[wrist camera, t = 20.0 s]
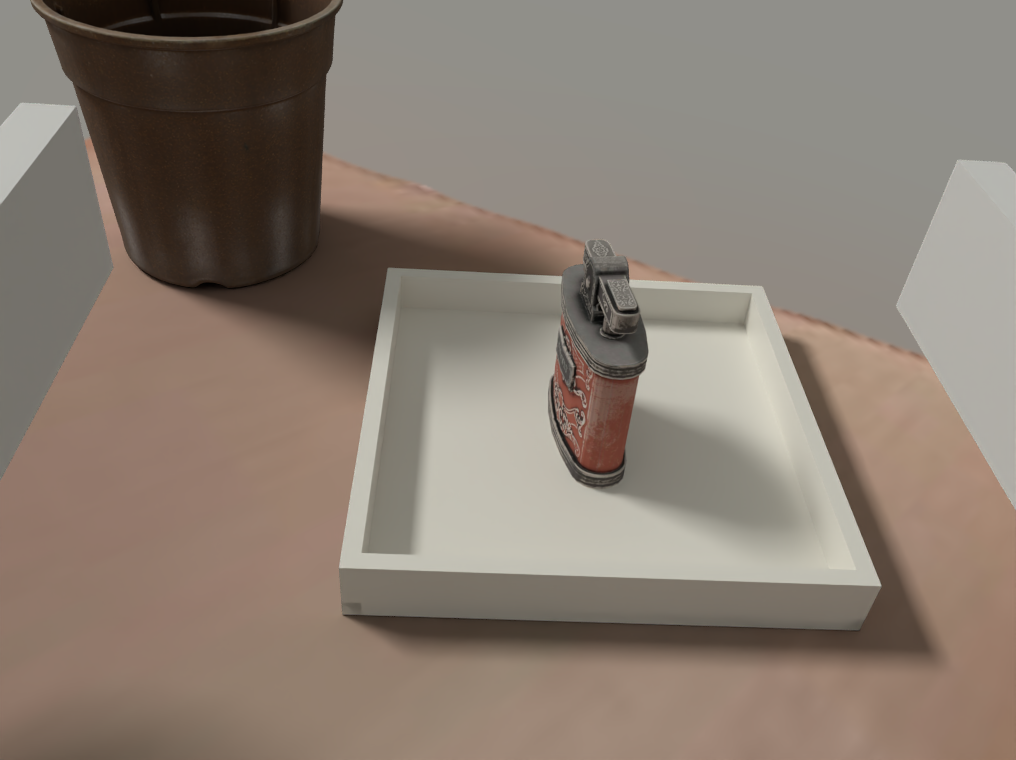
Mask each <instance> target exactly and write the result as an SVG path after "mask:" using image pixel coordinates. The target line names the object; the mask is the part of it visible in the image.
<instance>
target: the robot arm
mask: <svg viewBox="0 0 1016 760" xmlns="http://www.w3.org/2000/svg"><path fill="white" fill-rule="evenodd" d="M112 269H113V263H112V259H111V255H110V250H109V246H108V242H107V237H106V233H105V229H104V224H103V220H102V216H101V211H100V207H99V202H98V198H97V194H96V189H95V185H94V181H93V176H92V172H91V168H90V163H89V159H88V155H87V150H86V146H85V142H84V137H83V134H82V129H81V124H80V120H79V116H78V111H77V107H76V106H68V105H52V104H35V103H20V105H19V106H18V107H17V108H16V109H15V110H14V111H13V112H12V113H11V115H10V116H9V117H8V118H7V119H6V120H5V121H4V123H3V124H2V125H1V126H0V480H1V478H2V476H3V474H4V473H5V471H6V469H7V467H8V465H9V463H10V461H11V459H12V458H13V456H14V454H15V452H16V450H17V448H18V446H19V444H20V442H21V441H22V439H23V437H24V435H25V433H26V431H27V429H28V427H29V426H30V424H31V422H32V420H33V418H34V416H35V414H36V412H37V410H38V409H39V407H40V405H41V403H42V401H43V399H44V397H45V395H46V394H47V392H48V390H49V388H50V386H51V384H52V382H53V380H54V378H55V377H56V375H57V373H58V371H59V369H60V367H61V365H62V363H63V362H64V360H65V358H66V356H67V354H68V352H69V350H70V348H71V346H72V345H73V343H74V341H75V339H76V337H77V335H78V333H79V331H80V330H81V328H82V326H83V324H84V322H85V320H86V318H87V316H88V314H89V313H90V311H91V309H92V307H93V305H94V303H95V301H96V299H97V298H98V296H99V294H100V292H101V290H102V288H103V286H104V284H105V282H106V281H107V279H108V277H109V275H110V273H111V271H112ZM896 307H897V309H898V310H899V312H900V314H901V316H902V317H903V319H904V321H905V322H906V324H907V326H908V328H909V329H910V331H911V333H912V334H913V336H914V338H915V339H916V341H917V343H918V345H919V346H920V348H921V350H922V351H923V353H924V355H925V357H926V358H927V360H928V362H929V363H930V365H931V367H932V368H933V370H934V372H935V374H936V375H937V377H938V379H939V380H940V382H941V384H942V386H943V387H944V389H945V391H946V392H947V394H948V396H949V397H950V399H951V401H952V403H953V404H954V406H955V408H956V409H957V411H958V413H959V415H960V416H961V418H962V420H963V421H964V423H965V425H966V426H967V428H968V430H969V432H970V433H971V435H972V437H973V438H974V440H975V442H976V443H977V445H978V447H979V449H980V450H981V452H982V454H983V455H984V457H985V459H986V461H987V462H988V464H989V466H990V467H991V469H992V471H993V472H994V474H995V476H996V478H997V479H998V481H999V483H1000V484H1001V486H1002V488H1003V490H1004V491H1005V493H1006V495H1007V496H1008V498H1009V500H1010V501H1011V503H1012V505H1013V507H1014V508H1015V510H1016V173H1015V172H1014V171H1013V170H1012V169H1011V168H1010V167H1009V166H1008V165H1007V164H1006V163H1004V162H988V161H971V160H957V163H956V165H955V167H954V170H953V172H952V174H951V177H950V179H949V182H948V184H947V186H946V189H945V191H944V193H943V196H942V198H941V201H940V203H939V205H938V207H937V210H936V212H935V215H934V217H933V219H932V222H931V224H930V226H929V229H928V231H927V233H926V236H925V238H924V241H923V243H922V246H921V248H920V250H919V252H918V255H917V257H916V259H915V262H914V264H913V267H912V269H911V271H910V274H909V276H908V278H907V281H906V283H905V286H904V288H903V290H902V293H901V295H900V297H899V300H898V302H897V304H896Z"/></svg>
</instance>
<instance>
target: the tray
mask: <svg viewBox="0 0 1016 760" xmlns="http://www.w3.org/2000/svg"><path fill="white" fill-rule="evenodd" d="M561 282H562V276H545V275H525V274H505V273H485V272H465V271H445V270H425V269H405V268H388V270H387V276H386V283H385V289H384V295H383V301H382V307H381V313H380V319H379V325H378V331H377V338H376V344H375V350H374V356H373V362H372V368H371V374H370V380H369V387H368V393H367V399H366V405H365V411H364V417H363V423H362V429H361V436H360V442H359V448H358V454H357V460H356V466H355V472H354V478H353V484H352V491H351V497H350V503H349V509H348V515H347V521H346V527H345V533H344V540H343V546H342V552H341V558H340V564H339V577H340V590H341V603H342V614H345V615H377V616H409V617H441V618H473V619H505V620H537V621H569V622H601V623H633V624H665V625H697V626H729V627H761V628H793V629H825V630H857V631H859V630H860V628H861V626H862V624H863V622H864V620H865V618H866V616H867V614H868V612H869V610H870V608H871V607H872V605H873V603H874V601H875V599H876V597H877V595H878V593H879V591H880V589H881V587H882V586H881V583H880V581H879V578H878V576H877V573H876V571H875V568H874V566H873V563H872V561H871V558H870V556H869V553H868V551H867V548H866V546H865V543H864V540H863V538H862V535H861V533H860V530H859V528H858V525H857V523H856V520H855V518H854V515H853V513H852V510H851V508H850V505H849V503H848V500H847V498H846V495H845V493H844V490H843V488H842V485H841V483H840V480H839V478H838V475H837V473H836V470H835V468H834V465H833V463H832V460H831V457H830V455H829V452H828V450H827V447H826V445H825V442H824V440H823V437H822V435H821V432H820V430H819V427H818V425H817V422H816V420H815V417H814V415H813V412H812V410H811V407H810V405H809V402H808V400H807V397H806V395H805V392H804V390H803V387H802V385H801V382H800V380H799V377H798V374H797V372H796V369H795V367H794V364H793V362H792V359H791V357H790V354H789V352H788V349H787V347H786V344H785V342H784V339H783V337H782V334H781V332H780V329H779V327H778V324H777V322H776V319H775V317H774V314H773V312H772V309H771V307H770V304H769V302H768V299H767V297H766V294H765V291H764V289H763V287H762V286H746V285H726V284H706V283H686V282H666V281H646V280H629V286H630V288H631V290H632V292H633V294H634V297H635V299H636V301H637V303H638V305H639V308H640V315H641V318H642V321H643V324H644V327H645V330H646V336H647V343H648V350H649V353H648V357H647V362H646V367H645V371H644V372H643V373H642V374H641V375H639V380H638V385H637V390H636V395H635V400H634V405H633V410H632V415H631V420H630V425H629V430H628V435H627V440H626V445H625V449H626V460H627V461H626V466H625V471H624V475H623V479H622V480H621V481H620V482H619V484H617V485H615V486H613V487H610V488H605V489H594V488H589V487H586V486H583V485H581V484H580V483H578V482H576V481H575V479H574V478H573V477H572V476H571V474H570V472H569V470H568V469H567V467H566V465H565V463H564V462H563V460H562V458H561V456H560V454H559V451H558V449H557V446H556V444H555V441H554V438H553V436H552V433H551V427H550V422H549V416H548V389H549V381H550V378H551V376H552V375H553V374H554V371H555V363H556V355H557V352H556V347H557V339H558V331H559V327H560V323H561V315H562V308H561Z"/></svg>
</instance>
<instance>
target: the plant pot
mask: <svg viewBox="0 0 1016 760" xmlns="http://www.w3.org/2000/svg"><path fill="white" fill-rule="evenodd" d="M30 1H31V4H32V6H33V8H34V9H35V11H36V12H37V13H38V14H39V15H40V16H41V17H42V18H44V19H45V21H46V24H47V27H48V30H49V32H50V35H51V38H52V41H53V43H54V46H55V49H56V52H57V55H58V57H59V60H60V63H61V66H62V69H63V71H64V73H65V75H66V76H67V77H68V78H69V79H70V80H71V81H72V82H73V85H74V88H75V91H76V94H77V97H78V100H79V103H80V106H81V109H82V112H83V115H84V118H85V121H86V124H87V127H88V130H89V134H90V137H91V140H92V143H93V146H94V149H95V152H96V155H97V159H98V162H99V165H100V168H101V171H102V174H103V178H104V181H105V184H106V187H107V190H108V194H109V197H110V200H111V203H112V206H113V209H114V213H115V216H116V219H117V222H118V225H119V228H120V231H121V235H122V239H123V242H124V246H125V249H126V251H127V253H128V255H129V257H130V258H131V260H132V261H133V262H134V263H135V264H136V265H137V266H138V267H139V268H141V269H142V270H143V271H145V272H146V273H148V274H150V275H152V276H154V277H156V278H158V279H160V280H163V281H166V282H169V283H172V284H176V285H180V286H186V287H196V286H198V285H200V284H201V283H204V282H212V283H217V284H221V285H223V286H225V287H227V288H235V287H242V286H247V285H252V284H256V283H260V282H263V281H266V280H269V279H272V278H275V277H277V276H280V275H282V274H284V273H286V272H288V271H290V270H292V269H294V268H295V267H297V266H298V265H300V264H301V263H302V262H304V261H305V260H306V259H307V258H309V257H310V256H311V254H312V253H313V251H314V250H315V248H316V246H317V242H318V237H319V231H320V204H321V181H322V155H323V133H324V110H325V87H326V74H327V73H328V71H329V69H330V67H331V64H332V60H333V39H334V26H335V15H336V14H337V13H338V11H339V10H340V8H341V6H342V3H343V0H30Z"/></svg>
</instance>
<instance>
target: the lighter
mask: <svg viewBox="0 0 1016 760" xmlns="http://www.w3.org/2000/svg"><path fill="white" fill-rule="evenodd" d="M583 263H584V264H580V265H574V266H571V267H568V268H567V269H566V270H565V271H564V272H563V275H562V282H561V308H562V315H561V323H560V327H559V331H558V339H557V347H556V352H557V355H556V363H555V371H554V374H553V375H552V376H551V378H550V381H549V389H548V416H549V422H550V427H551V433H552V436H553V438H554V441H555V444H556V446H557V449H558V451H559V454H560V456H561V458H562V460H563V462H564V463H565V465H566V467H567V469H568V470H569V472H570V474H571V476H572V477H573V478H574V479H575V481H576V482H578V483H580V484H581V485H583V486H586V487H589V488H594V489H605V488H610V487H613V486H615V485H617V484H619V482H620V481H621V480H622V479H623V475H624V471H625V466H626V461H627V460H626V449H625V445H626V440H627V435H628V430H629V425H630V420H631V415H632V410H633V405H634V400H635V395H636V390H637V385H638V380H639V375H641V374H642V373H643V372H644V371H645V367H646V362H647V357H648V353H649V350H648V343H647V336H646V330H645V327H644V324H643V321H642V318H641V315H640V308H639V305H638V303H637V301H636V299H635V297H634V294H633V292H632V290H631V288H630V286H629V268H628V262H627V260H626V258H625V256H616V255H615V253H614V250H613V248H612V246H611V244H610V243H609V242H608V241H607V240H603V239H591V240H587V241H586V243H585V250H584V257H583Z"/></svg>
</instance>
